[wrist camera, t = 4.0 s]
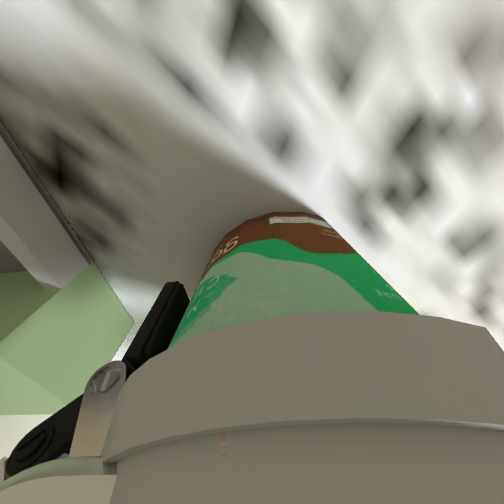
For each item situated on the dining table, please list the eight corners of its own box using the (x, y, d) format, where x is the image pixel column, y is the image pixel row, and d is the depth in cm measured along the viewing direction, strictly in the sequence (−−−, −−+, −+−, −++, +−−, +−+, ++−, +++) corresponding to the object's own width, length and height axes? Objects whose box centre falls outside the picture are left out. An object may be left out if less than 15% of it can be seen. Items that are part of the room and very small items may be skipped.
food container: (219, 143, 9) (-159, 387, 1) (338, 191, 10) (689, 515, 2) (177, 314, 16) (83, 541, 7) (253, 334, 17) (247, 552, 8)
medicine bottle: (88, 405, 25) (-25, 593, 15) (24, 382, 23) (-165, 594, 13) (115, 387, 23) (-1, 604, 12) (46, 359, 20) (-173, 607, 10)
